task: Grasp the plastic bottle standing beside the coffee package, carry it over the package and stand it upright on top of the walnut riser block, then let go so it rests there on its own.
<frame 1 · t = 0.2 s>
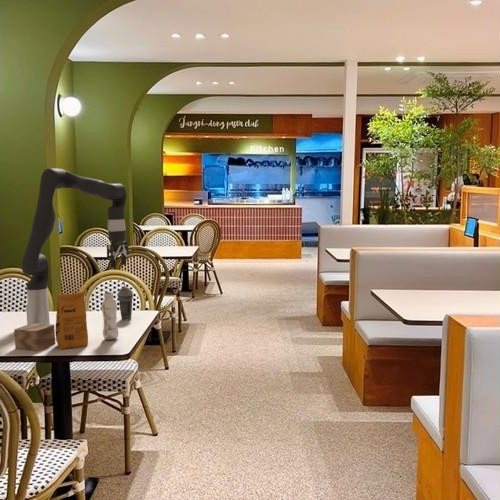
hand: (118, 266, 264), 29 cm above the table, fingers open, 8 cm apart
plastic bottle: (111, 339, 254), on the table
beverage cup: (126, 319, 290), on the table
walnut riser: (35, 346, 247), on the table
coffee package: (72, 346, 246), on the table
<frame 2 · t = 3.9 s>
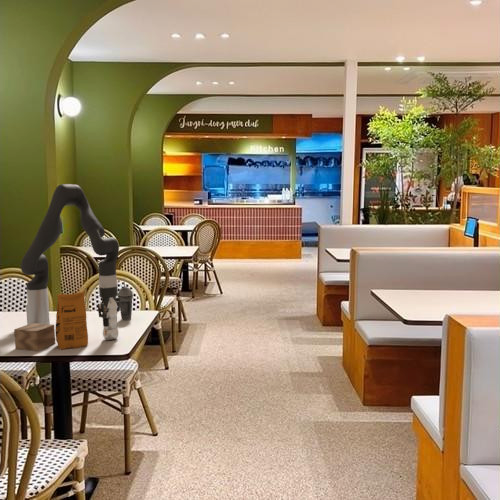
hand: (110, 324, 253), 7 cm above the table, fingers closed on plastic bottle, 5 cm apart
plastic bottle: (111, 339, 254), on the table, touching gripper
everything else where it was.
when the fingers open (16 cm above the table, at t = 11.7 s): plastic bottle drops 1 cm, resting on walnut riser.
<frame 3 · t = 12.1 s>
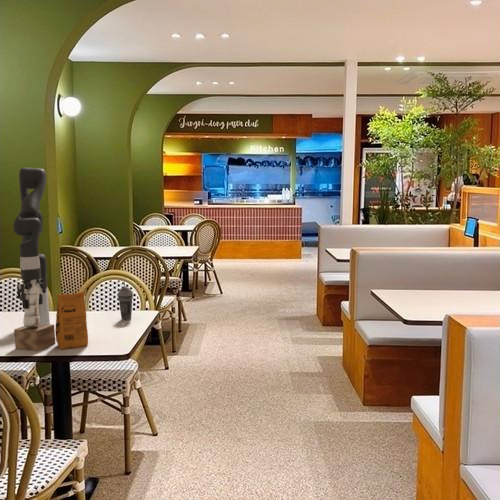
hand: (33, 306, 245), 17 cm above the table, fingers open, 8 cm apart
plastic bottle: (31, 327, 244), point 8 cm above the table, touching gripper, walnut riser
everything else where it was.
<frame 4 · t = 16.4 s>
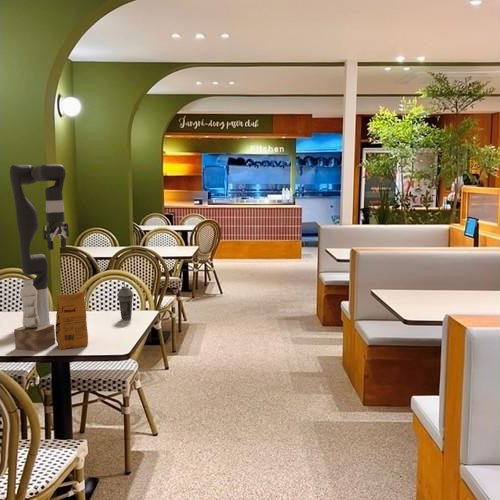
hand: (57, 248, 260), 38 cm above the table, fingers open, 8 cm apart
plastic bottle: (31, 328, 244), point 8 cm above the table, touching walnut riser
everything else where it was.
at the end: plastic bottle 1.8 cm off-centre on the walnut riser, point 7.8 cm above the walnut riser's base; plastic bottle tilted 0°; the gripper is holding nothing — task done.
